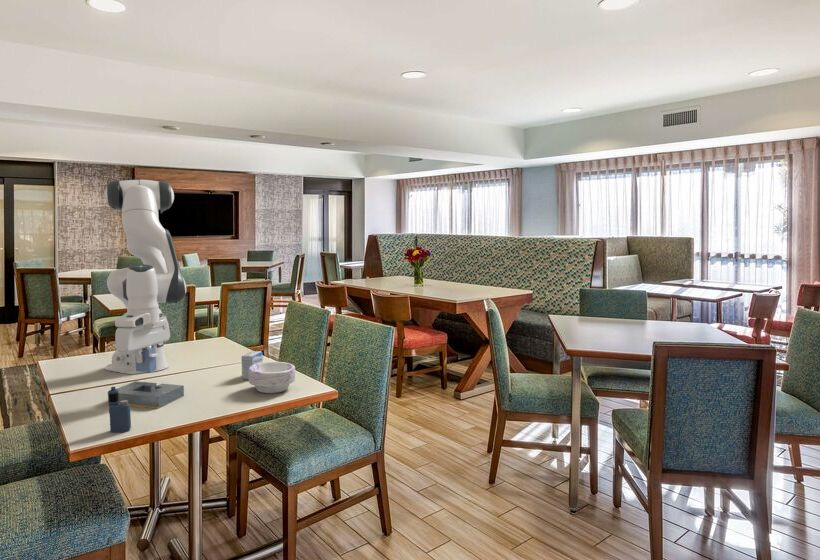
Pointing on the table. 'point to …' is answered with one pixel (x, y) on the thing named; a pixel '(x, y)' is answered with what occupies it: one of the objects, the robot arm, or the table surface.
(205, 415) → the table surface
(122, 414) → the vaping device
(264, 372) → the paper bowls
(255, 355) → the medicine box
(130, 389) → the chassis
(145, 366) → the servo block
